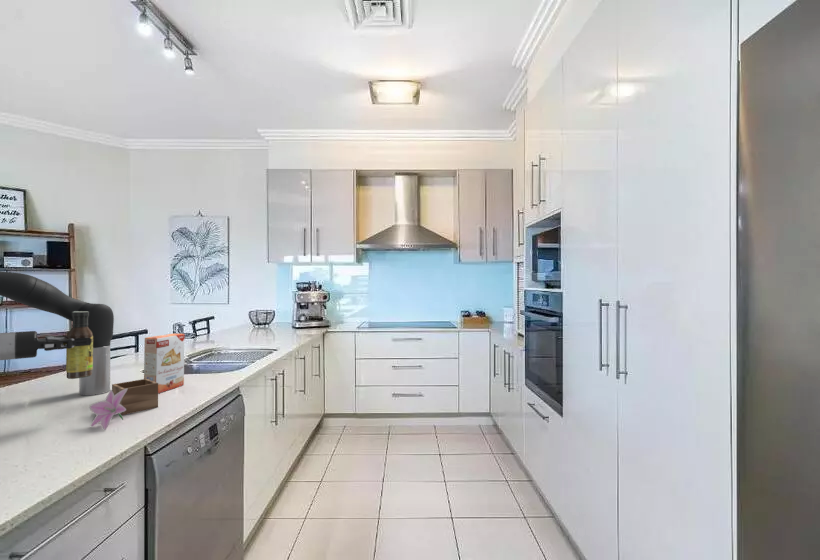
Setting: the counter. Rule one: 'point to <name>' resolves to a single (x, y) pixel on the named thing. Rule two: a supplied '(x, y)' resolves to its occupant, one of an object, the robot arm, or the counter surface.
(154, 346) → the cracker box
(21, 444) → the counter surface
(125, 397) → the bottle holder
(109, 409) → the lily
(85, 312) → the sauce bottle
